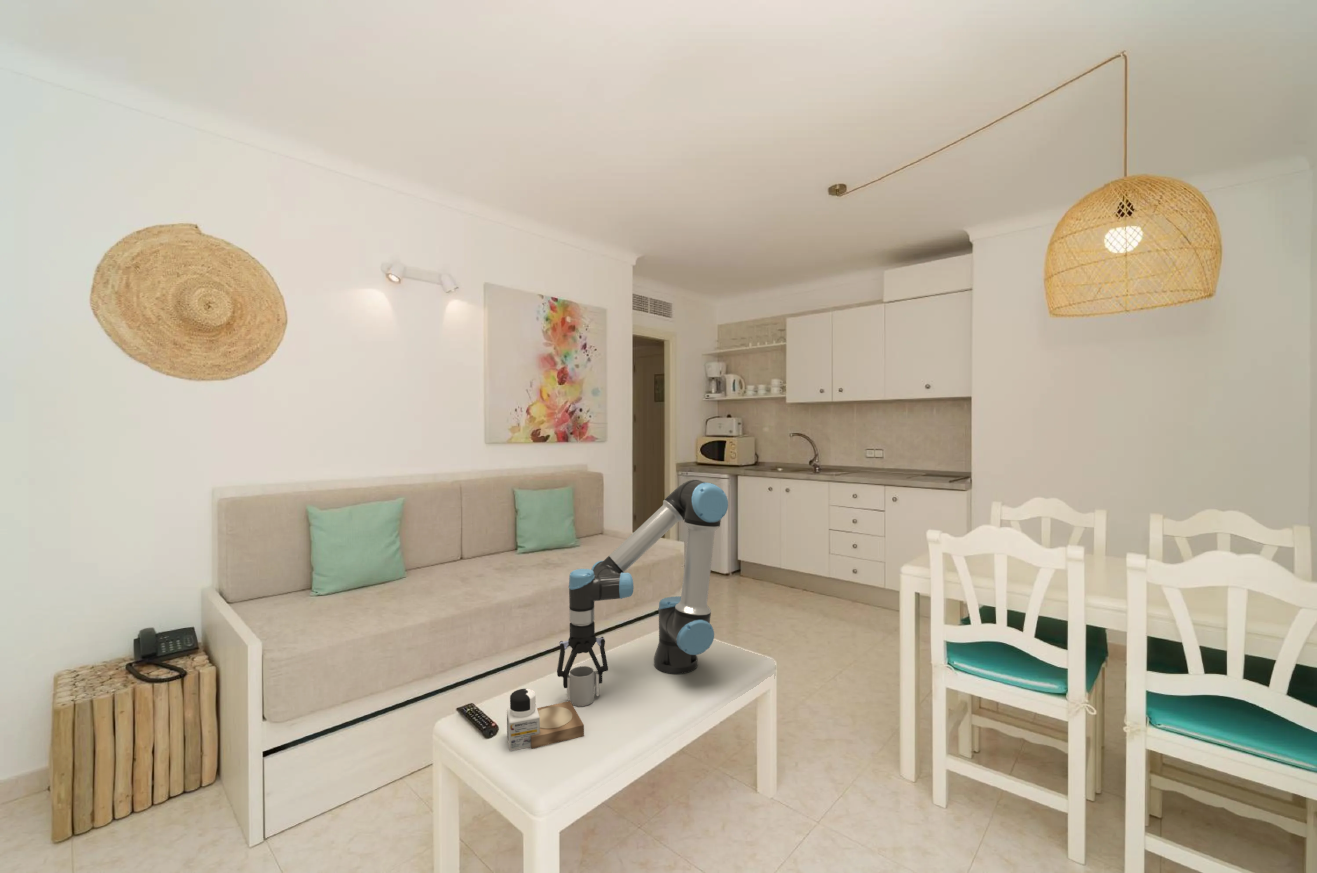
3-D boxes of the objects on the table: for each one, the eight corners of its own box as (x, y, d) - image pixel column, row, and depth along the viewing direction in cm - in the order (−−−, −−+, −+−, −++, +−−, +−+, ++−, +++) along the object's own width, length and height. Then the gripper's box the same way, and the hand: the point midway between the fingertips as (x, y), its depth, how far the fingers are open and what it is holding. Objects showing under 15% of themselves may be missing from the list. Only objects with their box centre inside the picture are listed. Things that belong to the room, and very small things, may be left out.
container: (509, 751, 142) (509, 701, 142) (506, 736, 150) (506, 688, 149) (540, 745, 145) (539, 696, 145) (536, 730, 152) (535, 683, 152)
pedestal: (570, 711, 162) (570, 699, 162) (584, 735, 149) (583, 723, 149) (521, 722, 156) (521, 710, 156) (531, 748, 143) (531, 736, 143)
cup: (565, 703, 166) (564, 673, 166) (585, 688, 175) (585, 661, 175) (584, 709, 163) (584, 679, 163) (604, 694, 171) (603, 665, 171)
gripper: (613, 614, 174) (614, 685, 175) (546, 620, 169) (547, 694, 170) (618, 622, 167) (618, 697, 168) (547, 629, 162) (548, 706, 163)
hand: (583, 695), depth 169 cm, fingers closed on cup, 8 cm apart
